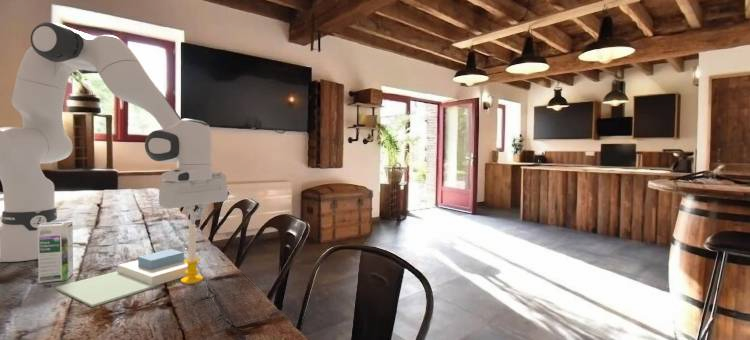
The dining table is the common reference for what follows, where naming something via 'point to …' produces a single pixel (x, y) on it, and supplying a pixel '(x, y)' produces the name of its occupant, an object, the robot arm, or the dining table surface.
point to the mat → (104, 288)
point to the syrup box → (55, 251)
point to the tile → (160, 259)
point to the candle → (192, 259)
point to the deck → (154, 272)
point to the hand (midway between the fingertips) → (196, 219)
